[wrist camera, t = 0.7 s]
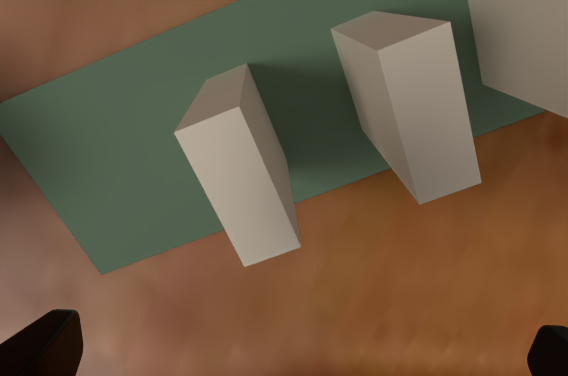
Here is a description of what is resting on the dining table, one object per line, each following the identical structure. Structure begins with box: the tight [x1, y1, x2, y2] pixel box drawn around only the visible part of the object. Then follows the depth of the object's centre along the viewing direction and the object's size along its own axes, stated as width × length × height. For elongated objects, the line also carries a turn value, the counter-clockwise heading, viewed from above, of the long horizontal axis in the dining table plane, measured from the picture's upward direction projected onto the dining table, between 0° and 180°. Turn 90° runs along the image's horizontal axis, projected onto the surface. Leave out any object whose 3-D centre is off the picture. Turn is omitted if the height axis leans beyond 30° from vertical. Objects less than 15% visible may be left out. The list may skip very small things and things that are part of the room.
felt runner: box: [0, 0, 547, 275], centre depth 19 cm, size 10×32×1 cm, turn 111°
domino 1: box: [174, 63, 301, 267], centre depth 16 cm, size 5×2×8 cm, turn 21°
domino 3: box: [468, 0, 568, 118], centre depth 15 cm, size 5×2×8 cm, turn 21°
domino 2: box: [331, 11, 481, 205], centre depth 16 cm, size 5×2×8 cm, turn 21°
